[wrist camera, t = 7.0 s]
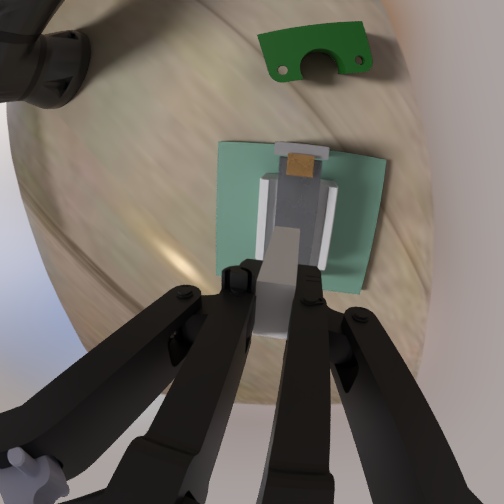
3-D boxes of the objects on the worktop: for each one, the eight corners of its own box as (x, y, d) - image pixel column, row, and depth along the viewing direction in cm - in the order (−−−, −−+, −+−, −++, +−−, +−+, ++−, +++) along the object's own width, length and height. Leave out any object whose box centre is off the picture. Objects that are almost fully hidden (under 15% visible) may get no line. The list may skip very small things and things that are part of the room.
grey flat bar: (280, 151, 25) (279, 152, 23) (322, 155, 24) (323, 157, 23) (271, 273, 31) (269, 280, 30) (306, 277, 30) (306, 285, 29)
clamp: (290, 80, 31) (257, 87, 25) (279, 41, 28) (242, 39, 22) (378, 70, 24) (370, 72, 19) (367, 26, 21) (354, 14, 15)
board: (221, 138, 32) (198, 138, 25) (384, 156, 29) (404, 161, 22) (218, 271, 39) (200, 299, 32) (358, 289, 36) (366, 322, 29)
